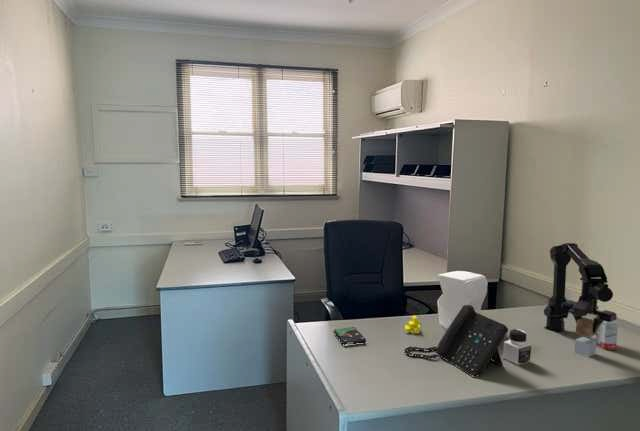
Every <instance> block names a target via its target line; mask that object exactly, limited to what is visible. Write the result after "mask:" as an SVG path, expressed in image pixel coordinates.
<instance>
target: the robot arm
mask: <svg viewBox="0 0 640 431" xmlns="http://www.w3.org/2000/svg"><path fill="white" fill-rule="evenodd" d="M549 255H550V260H551V261H552V263H553V286H552V287H553V288H552V296H551V297H550V299H549V300H548V303H547V306H545V308H544V310H543V315H544V316H545V317H546V325H545V326H544V329H546V330H549V331H551V332H555V333H560V332H563V331H565V330H566V328H565V319H568V316H569V313H570V314H571V315H572V316H573V319H574V320H575V324H576V323H577V319H580V318H583V317H586V316H588V314H589V315H593V316H595V317H594V318H592V320H594V327H593V333H594V334H595V333H596V331H597V330H598V328H599V326H600V325H601V323H602V322H603V321H607V322H612V321H616V320H617V316H618V314H617V313H616V312H615V311H610V310H607V309H604V310H602V311H600V310H599V306H598V300H599V301H601V303H602V302H603V303H607V302H609V301H611V300H612V299H613V296H614V294H613V290H612V289H611V288H609V284H608V282H609V281H608V277H607V275H606V272H605V269H604V266H602V264H601V263H599V262H598V261H595V260H593V259H590V258H589V257H588V256H587V255H586V254H585V253H584V252H583V251H582V250H581V249H580V247H579V245H578V244H577V243H573V242H565V243H562V244H559V245H555V246H554V245H553V246H552V248H550V249H549ZM571 260H573V262H574V263H575V264H576V265H577V267H578V272H579V274H580V276H581V277H580V278H579V280H580V281H581V283H582V284H581V293H580V294H581V295H579V296H578V300H577V301H573V300H567V298H566V282H567V281H566V280H567V267H568V265H569V264H570V262H571Z"/></svg>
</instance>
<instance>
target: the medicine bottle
mask: <svg viewBox="0 0 640 431" xmlns="http://www.w3.org/2000/svg"><path fill="white" fill-rule="evenodd" d="M531 352H532V345H531V344H530V343H528V342H527V332H526V331H524V330H522V329H519V328H517V329H516V328H515V329H511V330H510V331H509V339H508V340H505V341H503V356H502V358H503V359H504V358H505V360H506V359H507V360H506V361H508V360H509V361H508V362H510V361H511V362H510V363H512V362H513V364H514V363H515V365H516V364H517V365H516V366H521V365H524V364H527V363H530V362H531V355H532V354H531ZM523 363H524V364H523ZM520 364H521V365H520Z"/></svg>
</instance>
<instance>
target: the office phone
mask: <svg viewBox="0 0 640 431" xmlns="http://www.w3.org/2000/svg"><path fill="white" fill-rule="evenodd" d="M508 331H509V328H508V327H507V325H505V324H504V323H501V322H499V321H496V320H494V319H492V318H490V317H487V316H485V315H483V314H481V313H480V314H477V313H476V312H475V311H474V308H473V307H472V306H471V305H464V306H463V307H462V308H461V310H460V311H459V313H458V314H457V316H456V317H455V319H454V320H453V322H452V323H451V325H450V326H449V328H448V329H446V331H445V332H444V334H443V336H442V338H441V339H440V341H439V342H438V345H437V346H432V347H428V348H427V347H418V346H408V347H406V348H404V351H405V352H404V354H405V353H407V354H410V355H412V354H413V356H415V355H416V356H419V357H420V356H421V355H423V357H426V358H425V359H427V358H430V359H429V360H432V359H431V358H433V359H436V358H438V357H439V355H440V356H442V357H443V358H445V359H447V360H448V361H450V362H452V363H453V364H455V365H457V366H458V367H460V368H461V369H463V370H464V371H466V372H468V373H469V374H471V375H473V376H477V375H482V374H483V372H484V371H485V370H486V368H487V366H488V364H489V363H490V361H492V360H494V361H495V362H494V361H493V362H494V363H496V362H497V363H496V364H498V363H499V364H501V365H503V366H504V363H503V360H502V358H501V355H500V352H499V349H498V348H499V346H500V345H501V344H502V341H503V340H504V339H505V337H506V336H507V333H508ZM435 348H436V349H437V350H435V353H437V354H438V355H436V354H435V353H434V354H423V353H413V352H412V353H411V352H410V351H411V350H413V349H419V350H424V349H425V350H433V349H435ZM410 349H411V350H410ZM407 350H409V351H407ZM433 351H434V350H433ZM443 358H442V359H443ZM490 359H492V360H490ZM448 361H447V362H448ZM450 362H449V363H450ZM453 364H452V365H453ZM499 364H498V365H499ZM501 365H500V366H501ZM458 367H457V368H458ZM461 369H460V370H461ZM464 371H463V372H464ZM469 374H468V375H469Z"/></svg>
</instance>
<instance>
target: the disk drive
mask: <svg viewBox="0 0 640 431" xmlns="http://www.w3.org/2000/svg"><path fill="white" fill-rule="evenodd" d="M334 333H335V334H336V336H337V337H338V338H339V339H340V341H341V342H342V343H343V344H344V345H345V344H356V343H365V342H366V343H367V339H366V338H365V336H363V334H362V333H361V332H359V330H358V329H357V328H356V327H355V326H351V327H343V328H334V330H333V334H334ZM336 336H335V337H336ZM337 337H336V338H337ZM340 341H339V342H340Z"/></svg>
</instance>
